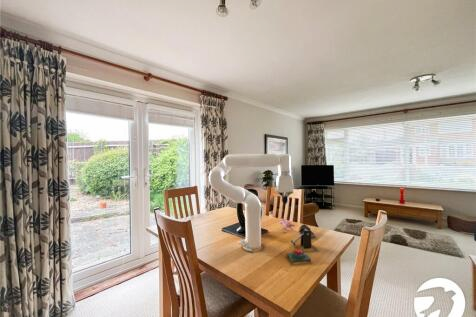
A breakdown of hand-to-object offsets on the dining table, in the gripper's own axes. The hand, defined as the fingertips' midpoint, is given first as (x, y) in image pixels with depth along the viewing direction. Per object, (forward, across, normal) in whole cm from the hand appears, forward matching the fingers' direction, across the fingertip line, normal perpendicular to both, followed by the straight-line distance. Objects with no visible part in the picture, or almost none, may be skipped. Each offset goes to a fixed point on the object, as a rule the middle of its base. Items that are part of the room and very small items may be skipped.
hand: (284, 203), depth 125 cm
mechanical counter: (+27, -20, -12) cm, 36 cm away
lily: (+27, -10, -24) cm, 38 cm away
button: (+24, -1, +17) cm, 29 cm away
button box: (+27, -1, +17) cm, 32 cm away
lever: (+21, -8, +5) cm, 23 cm away
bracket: (+27, -11, +5) cm, 30 cm away
